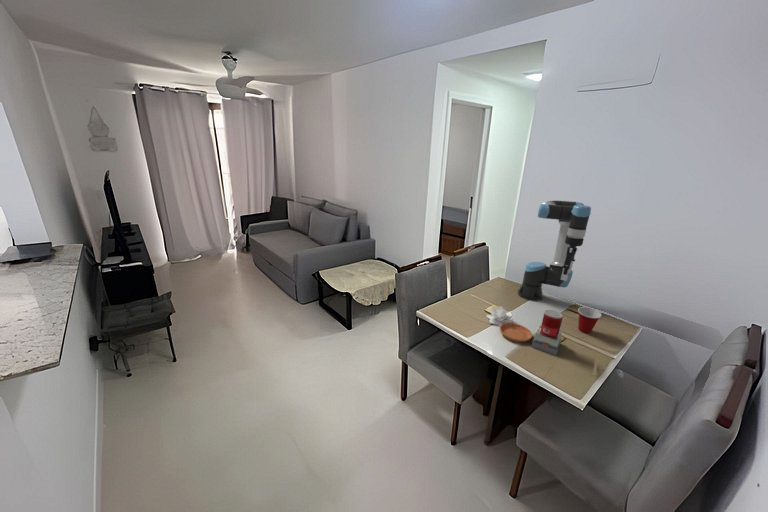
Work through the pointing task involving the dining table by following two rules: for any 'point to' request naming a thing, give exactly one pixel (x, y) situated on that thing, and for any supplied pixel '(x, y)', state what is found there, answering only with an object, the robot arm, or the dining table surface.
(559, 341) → the stand
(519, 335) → the saucer
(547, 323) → the canned food
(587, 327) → the plastic cup
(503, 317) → the lotus flower
